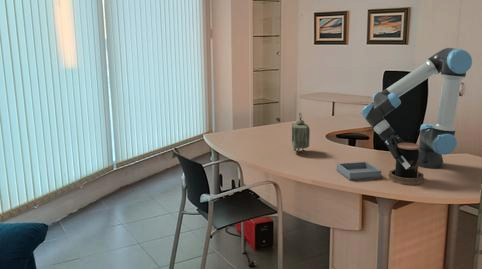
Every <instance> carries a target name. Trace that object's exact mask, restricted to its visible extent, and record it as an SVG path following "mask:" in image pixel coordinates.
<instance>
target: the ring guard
mask: <svg viewBox="0 0 482 269" xmlns="http://www.w3.org/2000/svg"><path fill="white" fill-rule="evenodd" d="M388 180H389V181H391V182H393V183H395V184H399V185H406V184H407V185H406V186H408V185H410V186H412V185H415V184H416V185H420V184H422V183H424V173H423V172H421V171H418V172H417V178H402V177H398V176H395V168H394V169H391V170H389V171H388Z"/></svg>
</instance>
